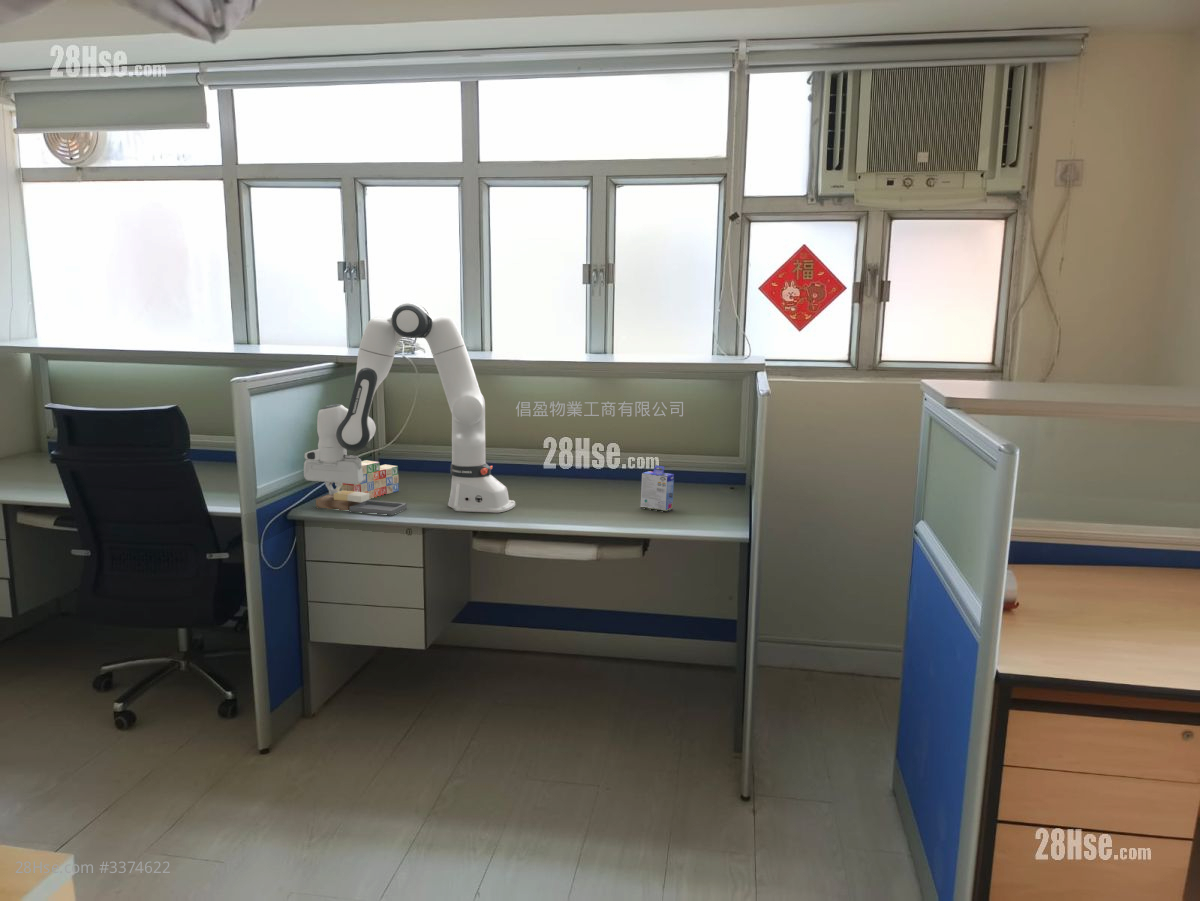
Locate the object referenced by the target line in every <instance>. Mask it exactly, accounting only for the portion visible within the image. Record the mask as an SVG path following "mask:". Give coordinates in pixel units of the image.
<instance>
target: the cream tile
mask: <svg viewBox="0 0 1200 901" xmlns="http://www.w3.org/2000/svg"><path fill="white" fill-rule="evenodd" d="M366 500H370V499H369V493H364V492H353V493H351V494H348V495H347V501H353V502H360V503H361V502H364V501H366Z"/></svg>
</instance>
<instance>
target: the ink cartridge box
mask: <svg viewBox="0 0 1200 901" xmlns="http://www.w3.org/2000/svg"><path fill="white" fill-rule="evenodd" d="M665 468H666V467H665V466H663V465H657V464H656V465H655V466H654V469H653V471H651V470H650V471H649V470H648V471H644V472H642V473H641V488H640V507H648V508H655V509H661V510H667V509H669V508H672V507H673V506H674V486H675V485H674V484H675V474H674V473H668V472H667V473H666V472H665ZM673 508H674V507H673Z"/></svg>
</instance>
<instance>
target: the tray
mask: <svg viewBox="0 0 1200 901" xmlns="http://www.w3.org/2000/svg"><path fill="white" fill-rule="evenodd" d="M404 509H405V510H408V504H407V503H405V502H394V501H385V500H384V501H381V500H374V499H368V500H366V501H364V502H361V503H357V504H355V505H352V506H350V507H349V511H348V512H350V511H351V512H350V513H352V512H362V513H361V514H363V513H377V514H387V515H393V514H395V513H397V514H399V513H401V512H403V511H405V510H404ZM402 510H403V511H402ZM400 511H401V512H400ZM398 512H399V513H398ZM395 515H396V514H395ZM393 516H394V515H393Z"/></svg>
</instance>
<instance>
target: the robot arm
mask: <svg viewBox="0 0 1200 901" xmlns="http://www.w3.org/2000/svg"><path fill="white" fill-rule="evenodd" d="M403 338H407V339H425V341H426V342H427V344H428V346H429V350H430V352H431V355H432V358H433V360H434V364H435V366H436V370H437V372H438V375H439V379H440V382H441V385H442V388H443V391H444V394H445V397H446V401H447V404H448V406H449V410H450V413H451V463H450V480H451V486H450V494H449V499H448V502H447V506H448V507H449V508H451V509H453V510H454V511H455V512H473V513H474V512H475V513H504V512H506V511H510V510H511V509H514V507H515V506H516V501H515V500H511V499H510V497H509V491H508V487H507V486H506V485H504V484H503V483H502V482H501V481H499V480H498V479H497V478H496V477H495V476H493V475H492V472H491V471H492V469H493V465H489V464H488V463H487V462H486V461H487V460H486V401H485V397H484V395H483V394H482V391H481V389H480V387H479V385H480V384H479V383H478V379H477V376H476V372H475V370H474V367H473V363H472V361H471V358H470V355H469V352H468V350H467V346H466V344H465V340H464V338H463V336H462V334H461V331H460V329H459V327H458V325H457V323H456V321H455V320H454V319H453V318H452V317H451V316H448V315H444V314H441V315H437V316H431V315H429V313H428V311H427V310H426V308H425V307H423V306H422V305H420V304H418V303H414V302H405V303H402V304H400V305H399V306H397V307H396V308H395V309H394V310H393V312H392V315H391V317H389V318H386V317H381V316H380V317H379V316H377V317H373V318H371V319H369V320H368V322H367V324H366V327H365V329H364V331H363V334H362V337H361V340H360V344H359V348H358V353H357V359H356V360H357V361H356V370H355V379H354V386H353V389H352V394H351V398H350V401H349V402H350V403H349V407H348V408H347V407H346V406H344V405H343V404H341V403H340V404H339V403H334V404H328V405H325V406H322V407H321V408H320V409H319V410H318V413H317V419H316V420H317V421H316V422H317V423H316V424H317V425H316V429H317V430H316V432H317V435H318V443H317V448H315V449H313V450H310V451H307V452H305V453H304V459H305V461H304V462H303V476H304V477H303V478H304V479H305V480H306V481H309V482H310V481H311V482H323V483H325V487H326V489H327V490H328V494H329V495H333V496H334V493H337V492H339V491H341V487H342V483H345V484H359V483H361V482H362V481H363V472H362V467H361V466H362V463H361V461H362V459H361V458H359V457H358V456H357V455H350V454H347V452H348V451H350V452H356V451H360V450H363V449H364V448H365V447H366V446H367V445H368V443H369V442H370V441H371V440H372V439H373V438H374V436H375V435H376V431H377V425H376V423H375V420H374V419H373V418H372V417H371V416H370V415H369V414H370V411H371V407H372V403H373V398H374V396H375V393H376V391H377V390H378V388H379V386H380V385H381V384H382V382H384V381H385V379H386V378H387V377H388V375H389V372H390V370H391V368H392V366H393V362H394V359H395V353H396V350H397V346H398V343H399V341H400V340H402V339H403ZM333 484H334V486H335V488H334V487H333Z"/></svg>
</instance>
